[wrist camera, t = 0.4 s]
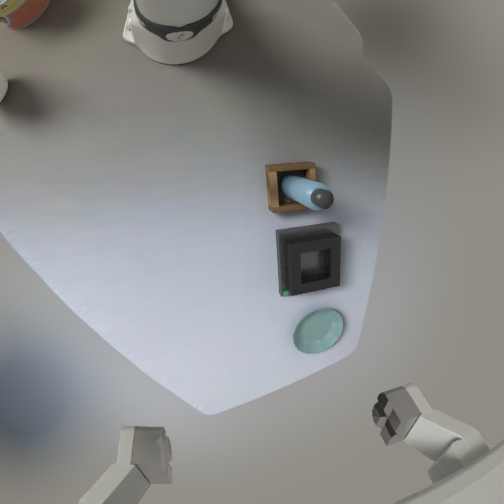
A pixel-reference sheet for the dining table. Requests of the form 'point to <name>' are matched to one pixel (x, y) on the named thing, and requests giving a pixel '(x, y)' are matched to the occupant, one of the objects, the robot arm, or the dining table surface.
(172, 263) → the dining table surface
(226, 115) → the dining table surface
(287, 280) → the port
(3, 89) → the sauce bottle
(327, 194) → the blue bottle
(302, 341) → the saucer
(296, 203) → the wooden square frame
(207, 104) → the dining table surface
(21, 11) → the canned food
